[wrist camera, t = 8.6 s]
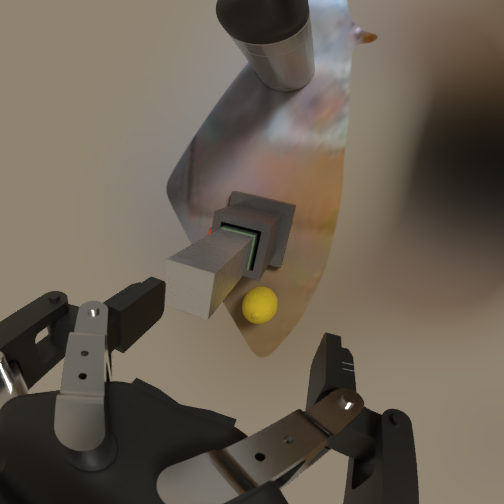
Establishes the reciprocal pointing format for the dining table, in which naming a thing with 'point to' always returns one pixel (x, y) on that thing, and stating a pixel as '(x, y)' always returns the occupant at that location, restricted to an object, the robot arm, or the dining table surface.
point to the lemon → (259, 305)
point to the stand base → (259, 227)
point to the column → (209, 269)
